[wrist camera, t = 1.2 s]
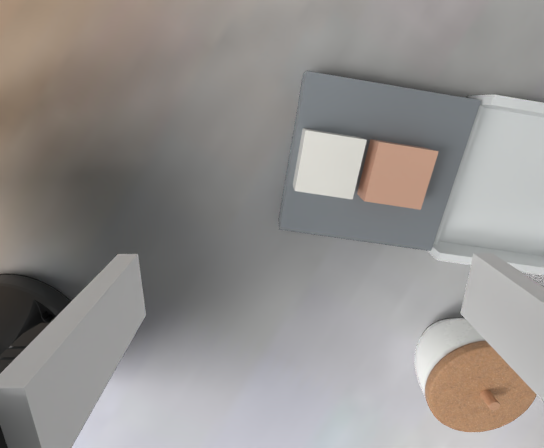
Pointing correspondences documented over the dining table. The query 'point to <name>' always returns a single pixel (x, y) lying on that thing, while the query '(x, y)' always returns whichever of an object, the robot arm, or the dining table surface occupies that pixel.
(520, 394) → the lidded jar
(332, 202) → the board
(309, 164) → the tile
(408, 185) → the tile
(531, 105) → the tray
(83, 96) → the dining table surface
